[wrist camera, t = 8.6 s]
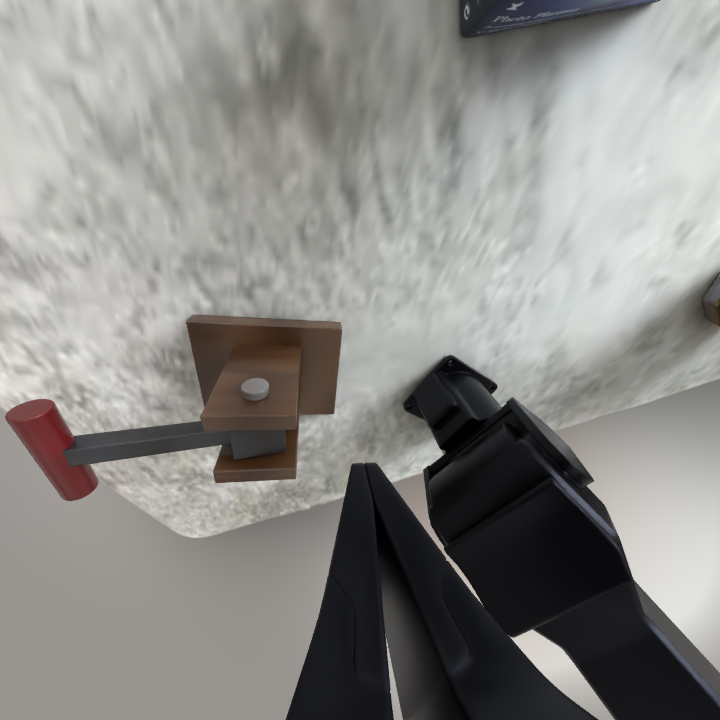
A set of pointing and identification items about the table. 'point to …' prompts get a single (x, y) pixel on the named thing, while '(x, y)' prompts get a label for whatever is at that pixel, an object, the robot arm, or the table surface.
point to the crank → (117, 444)
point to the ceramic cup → (713, 302)
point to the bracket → (263, 383)
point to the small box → (529, 12)
